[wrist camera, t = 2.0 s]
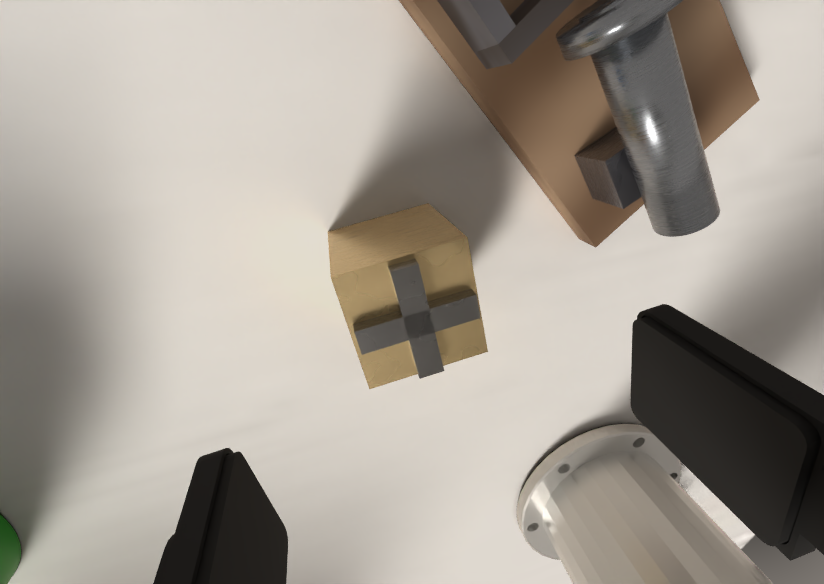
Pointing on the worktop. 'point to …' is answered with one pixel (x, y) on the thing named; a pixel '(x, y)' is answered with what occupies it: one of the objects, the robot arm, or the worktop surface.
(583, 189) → the stand
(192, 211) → the worktop surface
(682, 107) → the shaft
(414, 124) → the worktop surface
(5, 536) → the green bottle
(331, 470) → the worktop surface
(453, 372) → the worktop surface
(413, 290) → the coupling block
